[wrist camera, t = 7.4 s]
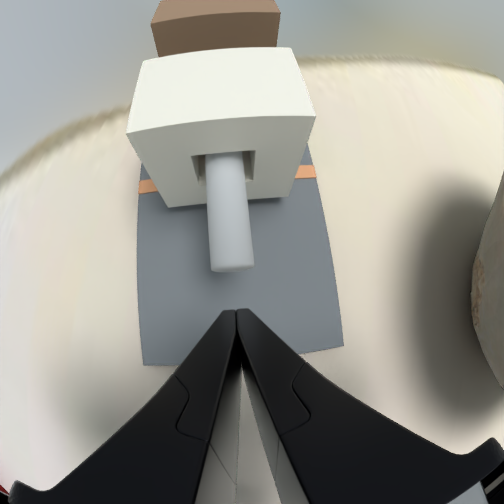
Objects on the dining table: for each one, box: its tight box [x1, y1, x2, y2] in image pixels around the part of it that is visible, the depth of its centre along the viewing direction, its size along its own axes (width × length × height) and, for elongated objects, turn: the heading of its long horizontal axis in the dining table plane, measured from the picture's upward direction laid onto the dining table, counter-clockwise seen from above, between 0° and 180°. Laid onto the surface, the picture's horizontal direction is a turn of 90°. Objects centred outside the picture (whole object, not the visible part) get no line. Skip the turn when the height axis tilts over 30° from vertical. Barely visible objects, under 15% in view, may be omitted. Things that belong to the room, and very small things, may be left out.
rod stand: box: [137, 0, 344, 365], centre depth 13 cm, size 22×12×10 cm, turn 6°
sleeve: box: [126, 47, 316, 208], centre depth 13 cm, size 5×7×7 cm
